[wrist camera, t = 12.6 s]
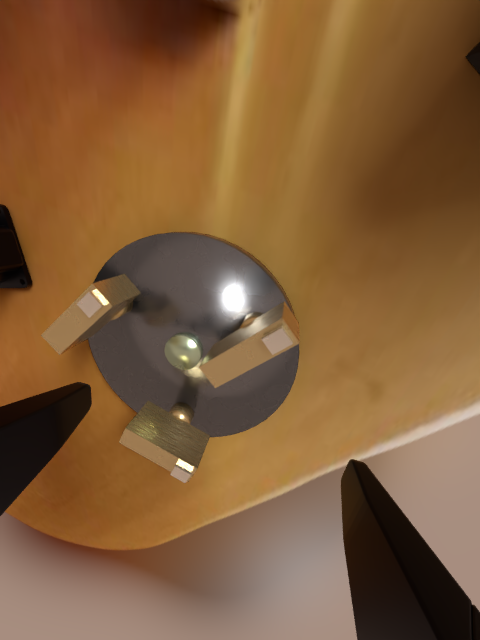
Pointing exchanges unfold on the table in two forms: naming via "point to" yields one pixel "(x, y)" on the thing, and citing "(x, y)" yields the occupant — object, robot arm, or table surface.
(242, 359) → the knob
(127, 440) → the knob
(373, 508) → the robot arm
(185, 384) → the plate
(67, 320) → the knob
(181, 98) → the table surface
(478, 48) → the speaker
